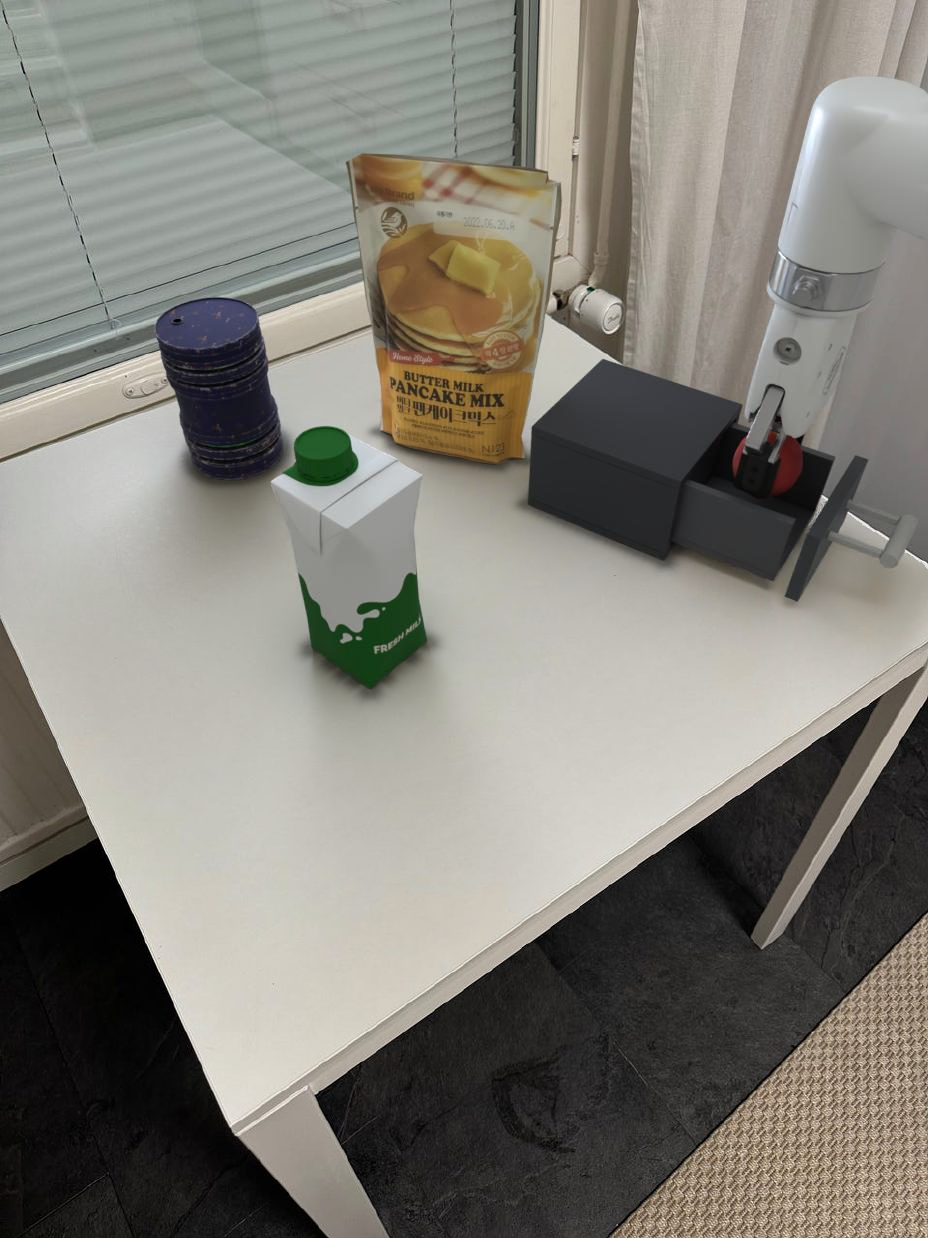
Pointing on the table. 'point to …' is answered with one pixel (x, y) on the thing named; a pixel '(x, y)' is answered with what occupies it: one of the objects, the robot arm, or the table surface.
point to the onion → (788, 466)
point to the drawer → (776, 516)
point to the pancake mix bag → (455, 296)
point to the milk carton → (354, 550)
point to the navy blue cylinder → (221, 386)
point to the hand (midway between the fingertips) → (766, 470)
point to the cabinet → (624, 453)
